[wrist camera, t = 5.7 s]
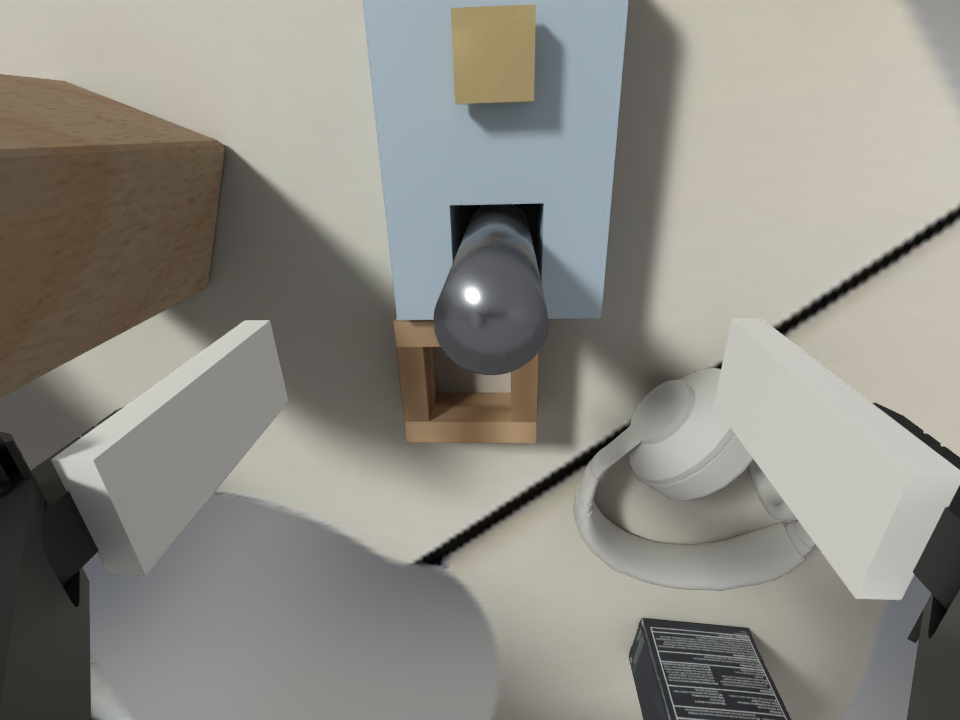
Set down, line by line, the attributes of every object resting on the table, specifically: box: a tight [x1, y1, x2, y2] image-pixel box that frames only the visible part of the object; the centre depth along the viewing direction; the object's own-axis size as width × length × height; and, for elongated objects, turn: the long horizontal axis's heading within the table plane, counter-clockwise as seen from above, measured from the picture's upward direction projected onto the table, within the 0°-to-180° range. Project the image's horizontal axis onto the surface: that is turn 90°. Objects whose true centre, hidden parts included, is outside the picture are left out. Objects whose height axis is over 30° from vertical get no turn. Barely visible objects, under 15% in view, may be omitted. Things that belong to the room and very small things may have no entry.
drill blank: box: [433, 204, 548, 375], centre depth 24 cm, size 4×4×16 cm
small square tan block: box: [451, 4, 536, 105], centre depth 24 cm, size 4×4×6 cm
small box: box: [629, 619, 791, 720], centre depth 43 cm, size 11×6×10 cm, turn 86°
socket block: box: [363, 0, 629, 320], centre depth 27 cm, size 12×18×5 cm, turn 2°
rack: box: [393, 316, 538, 443], centre depth 33 cm, size 9×9×4 cm
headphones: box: [574, 368, 816, 591], centre depth 36 cm, size 18×8×20 cm
